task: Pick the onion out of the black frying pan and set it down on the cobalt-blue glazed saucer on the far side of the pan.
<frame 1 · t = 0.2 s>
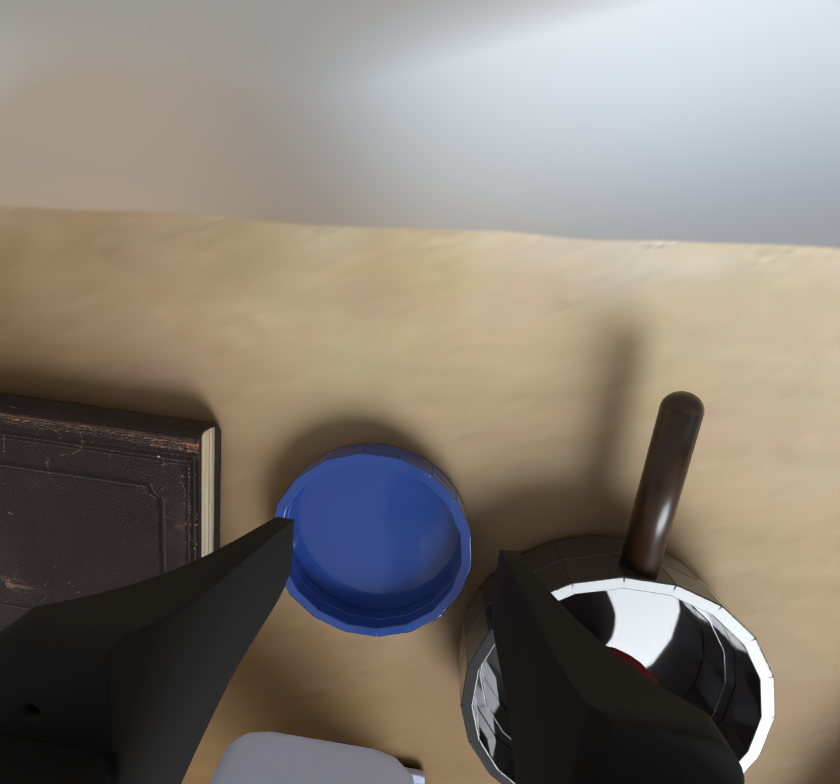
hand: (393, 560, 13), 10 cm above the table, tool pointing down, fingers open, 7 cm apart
hardcover book: (54, 510, 26), on the table
saucer: (375, 532, 24), on the table
onion: (587, 649, 25), resting on frying pan
frying pan: (587, 648, 25), on the table
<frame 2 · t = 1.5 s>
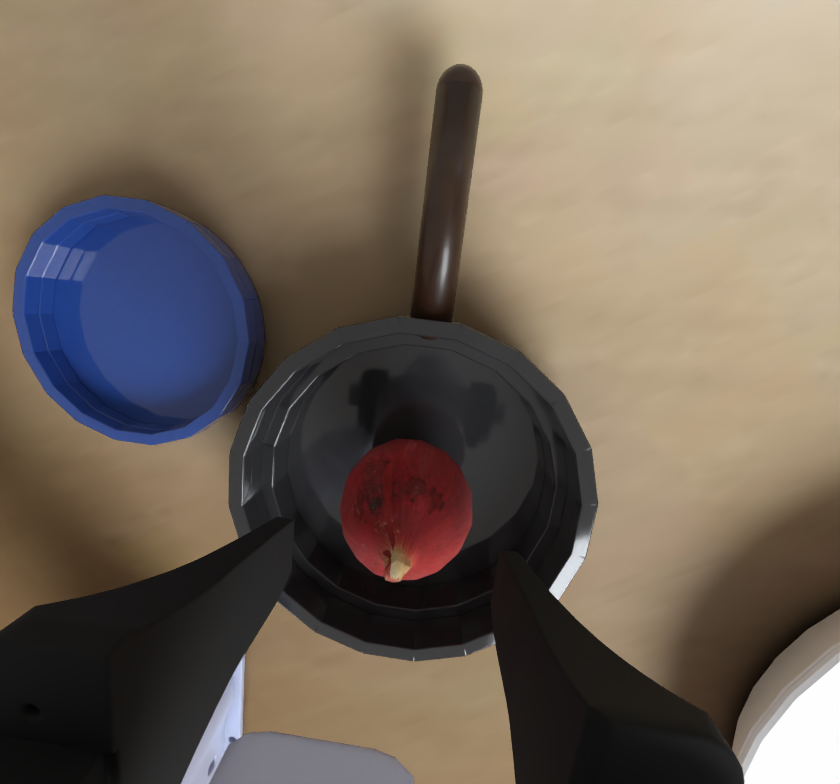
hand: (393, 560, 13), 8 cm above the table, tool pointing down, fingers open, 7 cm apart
saucer: (156, 326, 20), on the table
onion: (413, 470, 21), resting on frying pan
frying pan: (414, 469, 21), on the table
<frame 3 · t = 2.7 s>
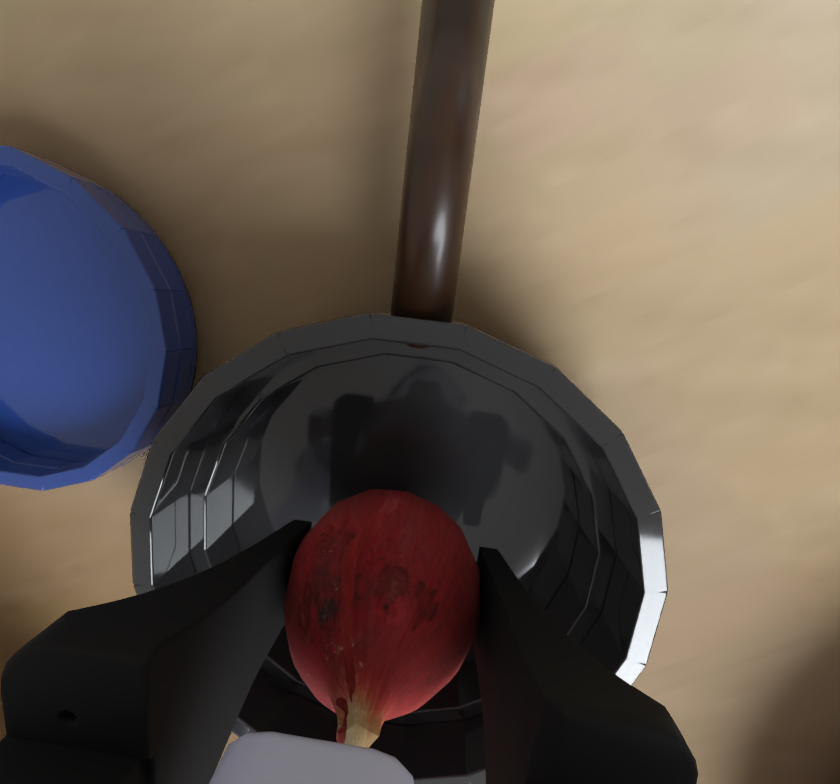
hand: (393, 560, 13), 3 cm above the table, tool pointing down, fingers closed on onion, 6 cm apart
saucer: (51, 328, 15), on the table
onion: (400, 521, 16), resting on frying pan, touching gripper
frying pan: (401, 519, 16), on the table
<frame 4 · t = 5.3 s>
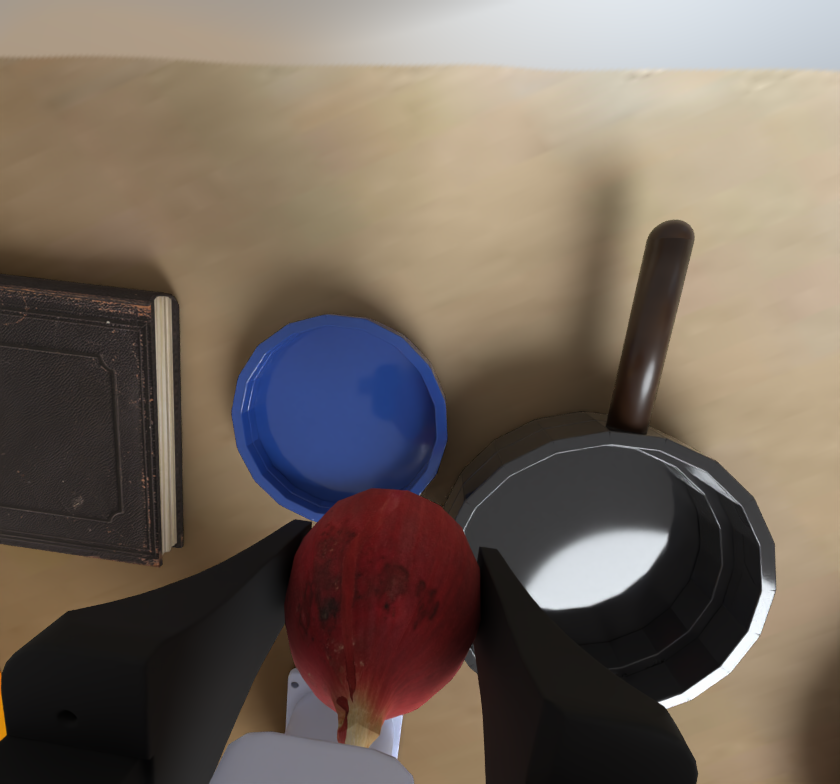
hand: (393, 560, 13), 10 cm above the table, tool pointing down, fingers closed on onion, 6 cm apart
hardcover book: (7, 404, 24), on the table
saucer: (346, 417, 23), on the table
onion: (400, 520, 16), point 7 cm above the table, touching gripper
frying pan: (575, 542, 23), on the table
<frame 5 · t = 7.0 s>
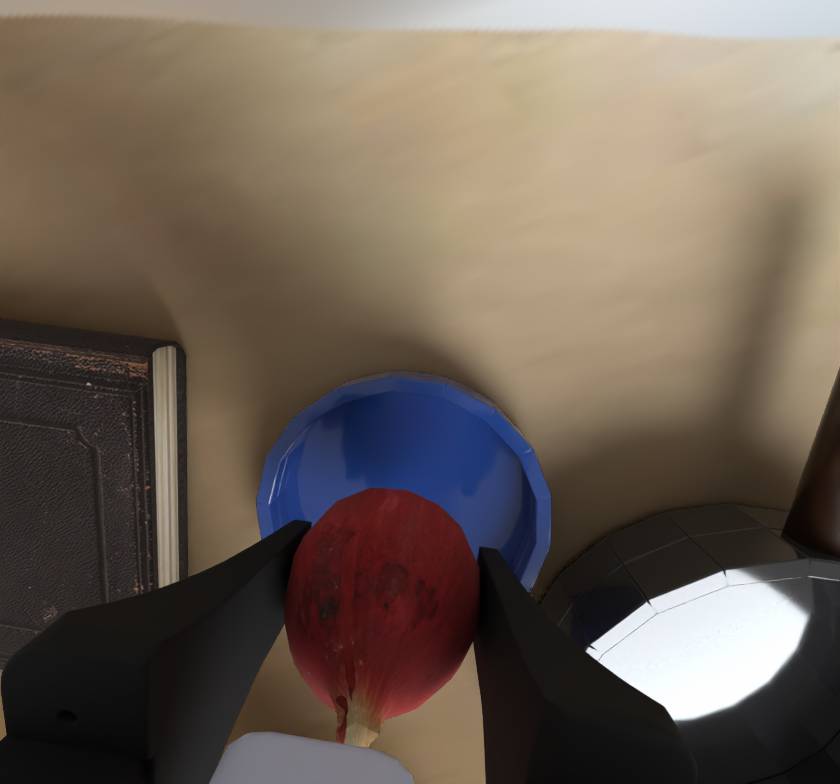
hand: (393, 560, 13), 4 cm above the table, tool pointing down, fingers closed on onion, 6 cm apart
saucer: (405, 502, 17), on the table
onion: (400, 520, 16), point 2 cm above the table, touching gripper
frying pan: (701, 664, 18), on the table
when the fingers open (3 cm above the table, at t = 8.1 s): onion stays where it is, resting on saucer.
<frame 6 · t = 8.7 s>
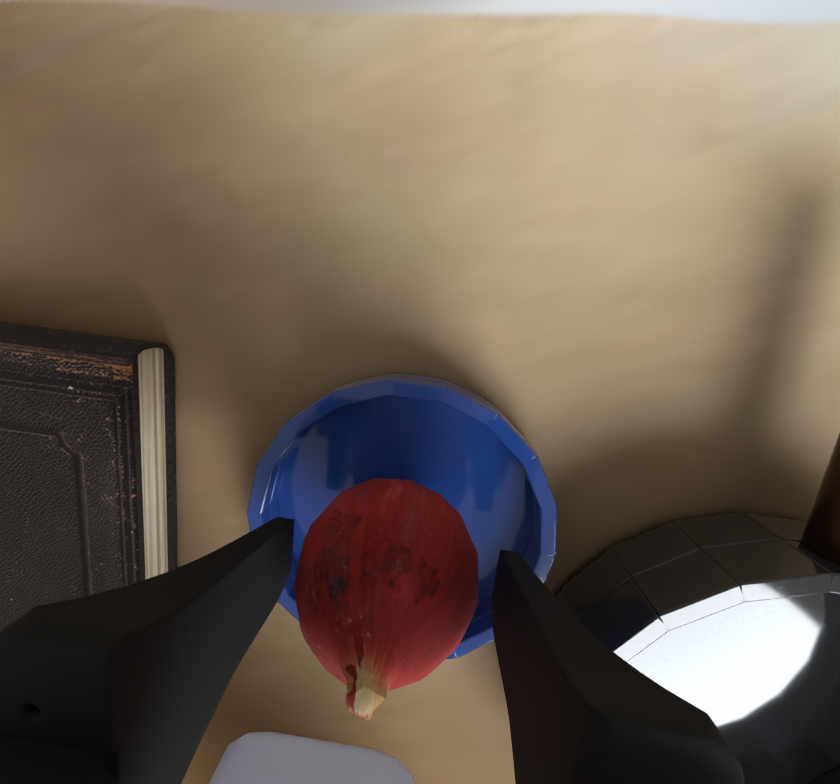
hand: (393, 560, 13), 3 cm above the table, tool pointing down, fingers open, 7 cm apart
saucer: (403, 510, 17), on the table
onion: (402, 510, 16), resting on saucer
frying pan: (711, 679, 17), on the table
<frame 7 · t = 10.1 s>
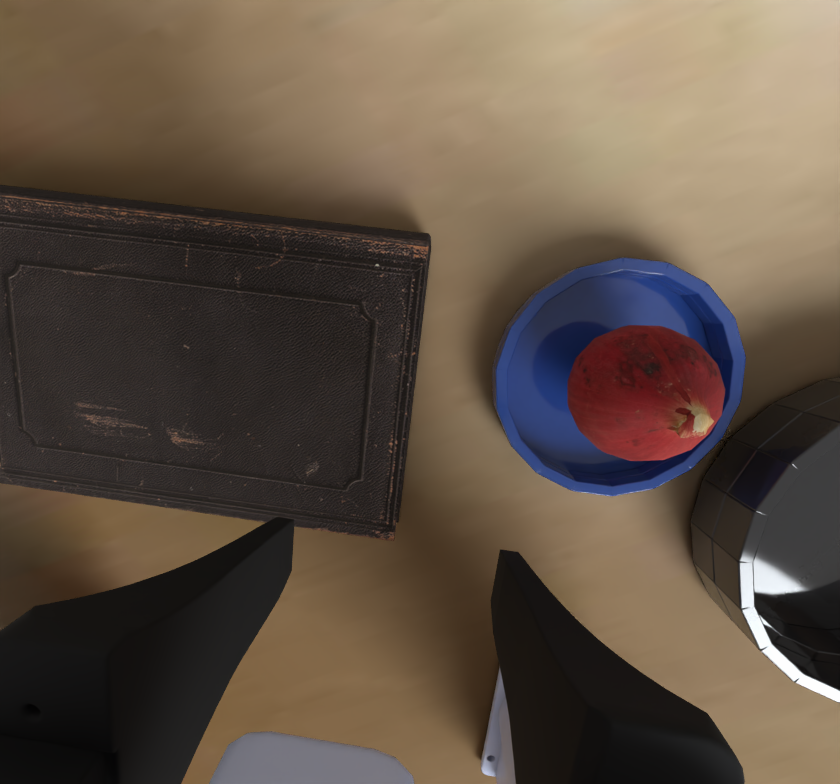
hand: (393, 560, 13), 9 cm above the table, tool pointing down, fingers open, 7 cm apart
hardcover book: (216, 363, 22), on the table
saucer: (602, 378, 21), on the table
onion: (602, 377, 21), resting on saucer
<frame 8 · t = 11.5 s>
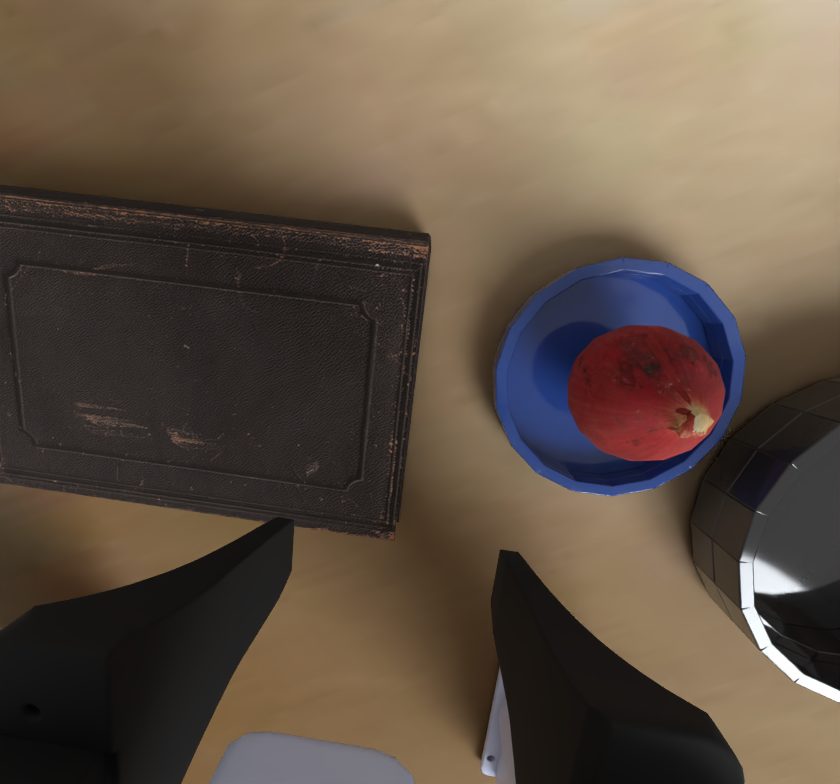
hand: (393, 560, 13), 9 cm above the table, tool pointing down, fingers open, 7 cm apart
hardcover book: (216, 363, 22), on the table
saucer: (602, 378, 21), on the table
onion: (602, 377, 21), resting on saucer
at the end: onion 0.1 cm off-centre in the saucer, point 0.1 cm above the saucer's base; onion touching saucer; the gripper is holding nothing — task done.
